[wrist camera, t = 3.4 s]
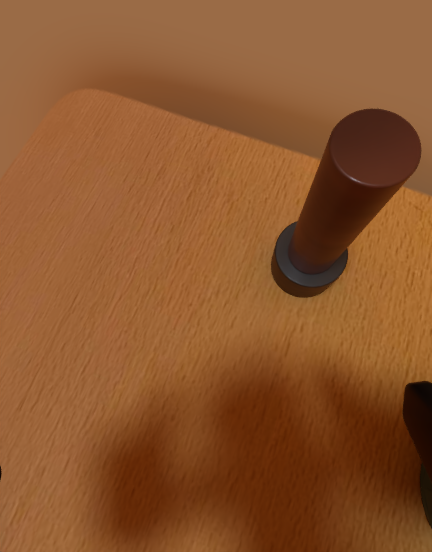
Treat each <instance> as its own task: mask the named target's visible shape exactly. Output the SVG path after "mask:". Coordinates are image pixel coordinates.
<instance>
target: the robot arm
mask: <svg viewBox="0 0 432 552" xmlns="http://www.w3.org/2000/svg"><path fill="white" fill-rule="evenodd" d="M403 419H404V422H405V425H406V427H407V429H408V431H409V434H410V436H411V438H412V440H413V442H414V445H415V447H416V449H417V451H418V454H419V456H420V458H421V460H422V462H423V465H424V467H425V469H426V471H427V474H428V476H429V478H430V480H431V482H432V383H430V382H428V381H421V382H414V383H409V384H407V385H406V387H405V392H404V402H403ZM0 480H1V466H0Z"/></svg>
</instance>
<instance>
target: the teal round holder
mask: <svg viewBox="0 0 432 552" xmlns="http://www.w3.org/2000/svg"><path fill="white" fill-rule="evenodd" d="M420 487H421V495H422V502H423V506H424V509H425V513H426V516H427V519H428V521H429V524H430V526H431V528H432V482H431V480H430V478H429V476H428V474H427V471H426V469H425V467H424V465H423V462H422V465H421V474H420Z"/></svg>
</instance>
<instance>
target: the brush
mask: <svg viewBox="0 0 432 552" xmlns="http://www.w3.org/2000/svg"><path fill="white" fill-rule="evenodd" d="M420 158H421V143H420V139H419V137H418V134H417V132H416V131H415V129H414V128H413V127H412V126H411V124H410V123H409V122H408V121H406V120H405V119H404V118H402V117H401V116H399V115H397V114H395V113H393V112H390V111H387V110H382V109H364V110H359V111H356V112H354V113H351V114H349V115H348V116H346V117H345V118H343V119H342V120H341V121H340V122H339V123H338V124H337V125H336V126H335V128H334V129H333V131H332V133H331V135H330V138H329V141H328V143H327V146H326V149H325V151H324V154H323V157H322V159H321V162H320V164H319V167H318V169H317V172H316V175H315V177H314V180H313V183H312V185H311V188H310V190H309V193H308V196H307V198H306V201H305V204H304V206H303V209H302V211H301V214H300V217H299V219H298V221H297V222H294V223H292V224H291V225H289V226H288V227H286V228H285V229H284V230H283V231H282V233H281V234H280V235H279V237H278V239H277V242H276V245H275V249H274V253H273V256H272V261H271V271H272V275H273V278H274V280H275V281H276V283H277V284H278V285H279V287H280V288H281V289H283V290H284V291H285V292H287V293H289V294H291V295H293V296H297V297H312V296H315V295H318V294H320V293H321V292H323V291H324V290H325V289H327V288H328V287H329V286H330V285H331V284H332V283H333V282H334V281H335V280H336V279H337V278H338V277H339V276H340V275H341V274H342V272H343V271H344V269H345V267H346V264H347V260H348V250H347V247H348V246H349V245H350V244H351V243H352V242H353V241H354V240H355V238H356V237H357V236H358V235H359V234H360V233H361V232H362V230H363V229H364V228H365V227H366V226H367V225H368V224H369V223H370V221H371V220H372V219H373V218H374V217H375V216H376V215H377V214H378V212H379V211H380V210H381V209H382V208H383V207H384V206H385V204H386V203H387V202H388V201H389V200H390V199H391V198H392V197H393V195H394V194H395V193H396V192H397V191H398V190H399V189H400V188H401V186H402V185H403V184H404V183H405V182H406V181H407V180H408V178H409V177H410V176H411V175H412V174H413V173H414V171H415V170H416V168H417V166H418V164H419V161H420Z"/></svg>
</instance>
